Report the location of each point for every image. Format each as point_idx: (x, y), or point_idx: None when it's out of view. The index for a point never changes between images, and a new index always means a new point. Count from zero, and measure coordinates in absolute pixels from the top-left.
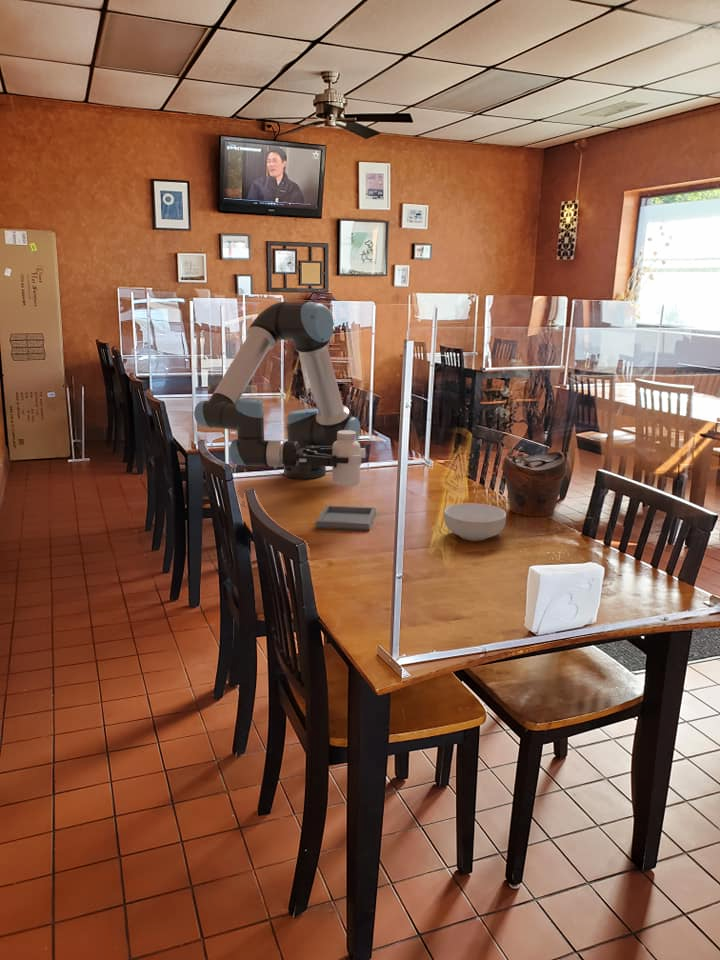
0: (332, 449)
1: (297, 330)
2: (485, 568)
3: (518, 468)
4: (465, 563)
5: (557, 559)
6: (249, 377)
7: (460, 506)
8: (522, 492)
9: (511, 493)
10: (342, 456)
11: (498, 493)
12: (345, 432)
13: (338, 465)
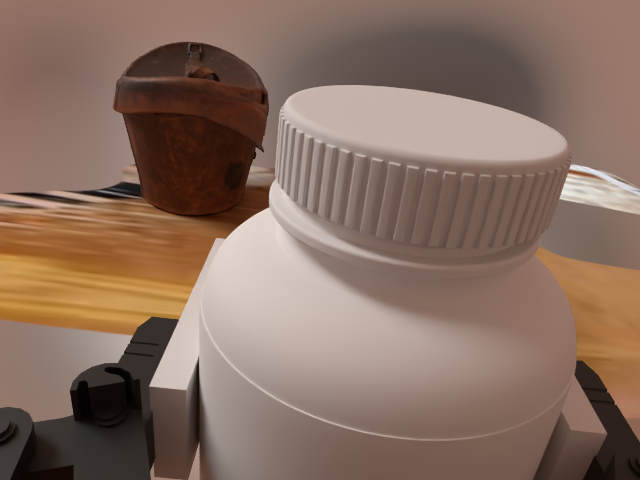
0: (470, 476)
1: None
2: (603, 297)
3: (246, 95)
4: (599, 321)
5: None
6: None
7: None
8: (245, 154)
9: (214, 170)
10: (576, 395)
11: (29, 210)
12: (454, 121)
13: None
